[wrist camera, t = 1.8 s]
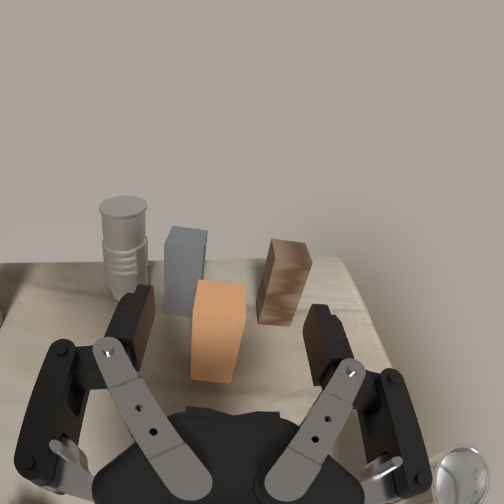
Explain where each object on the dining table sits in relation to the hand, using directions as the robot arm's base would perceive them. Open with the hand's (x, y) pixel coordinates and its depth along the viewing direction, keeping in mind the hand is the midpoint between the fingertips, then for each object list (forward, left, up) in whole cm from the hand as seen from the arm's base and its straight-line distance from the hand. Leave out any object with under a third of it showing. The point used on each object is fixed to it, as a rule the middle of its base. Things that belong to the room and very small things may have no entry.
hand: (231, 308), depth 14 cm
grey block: (-11, +20, -21) cm, 31 cm away
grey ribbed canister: (-20, +19, -21) cm, 35 cm away
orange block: (-3, +11, -21) cm, 24 cm away
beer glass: (+19, -6, -21) cm, 29 cm away
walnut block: (+3, +24, -21) cm, 32 cm away
